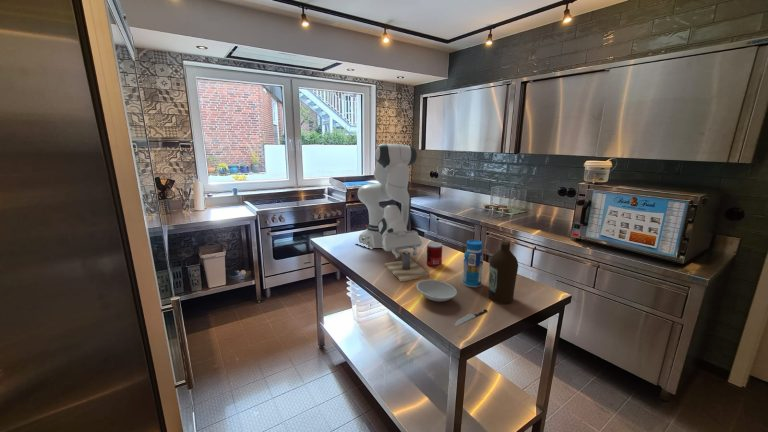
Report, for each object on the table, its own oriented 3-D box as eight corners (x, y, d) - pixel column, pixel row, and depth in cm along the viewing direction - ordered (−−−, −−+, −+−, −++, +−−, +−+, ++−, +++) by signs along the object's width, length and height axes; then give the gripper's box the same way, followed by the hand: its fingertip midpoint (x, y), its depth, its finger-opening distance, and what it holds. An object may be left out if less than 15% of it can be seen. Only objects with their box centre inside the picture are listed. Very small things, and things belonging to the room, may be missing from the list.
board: (384, 266, 157) (384, 263, 156) (410, 261, 162) (410, 259, 162) (400, 281, 139) (400, 278, 138) (429, 276, 144) (429, 273, 144)
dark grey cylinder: (404, 270, 147) (404, 253, 145) (400, 267, 151) (401, 250, 149) (411, 269, 149) (411, 252, 147) (407, 266, 153) (407, 249, 151)
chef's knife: (445, 325, 106) (451, 329, 104) (445, 322, 106) (451, 326, 104) (481, 308, 116) (488, 312, 114) (481, 306, 116) (488, 309, 114)
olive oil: (507, 292, 128) (513, 236, 123) (519, 304, 118) (525, 244, 112) (483, 292, 128) (487, 236, 122) (492, 305, 118) (497, 245, 112)
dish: (464, 302, 121) (464, 290, 120) (441, 314, 112) (441, 302, 111) (431, 286, 134) (431, 276, 133) (408, 296, 125) (408, 285, 124)
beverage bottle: (458, 281, 139) (460, 240, 134) (473, 278, 142) (475, 238, 137) (470, 289, 131) (473, 246, 126) (485, 285, 134) (488, 243, 130)
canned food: (444, 263, 159) (445, 244, 157) (435, 268, 154) (436, 247, 151) (432, 260, 164) (432, 241, 162) (423, 264, 159) (424, 244, 156)
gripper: (414, 233, 161) (422, 256, 154) (378, 236, 153) (386, 261, 147) (418, 227, 156) (427, 250, 149) (382, 230, 148) (389, 256, 142)
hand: (406, 256), depth 148 cm, fingers open, 8 cm apart
